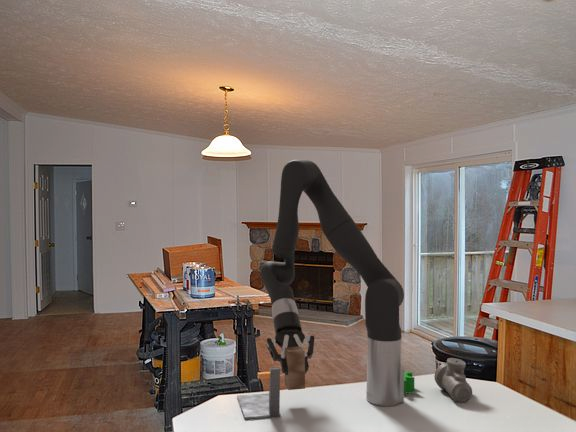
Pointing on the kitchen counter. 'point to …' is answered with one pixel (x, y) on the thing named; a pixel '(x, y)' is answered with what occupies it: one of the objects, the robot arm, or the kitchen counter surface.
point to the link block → (295, 368)
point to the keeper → (263, 398)
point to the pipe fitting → (453, 379)
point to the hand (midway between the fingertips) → (296, 372)
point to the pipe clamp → (408, 382)
